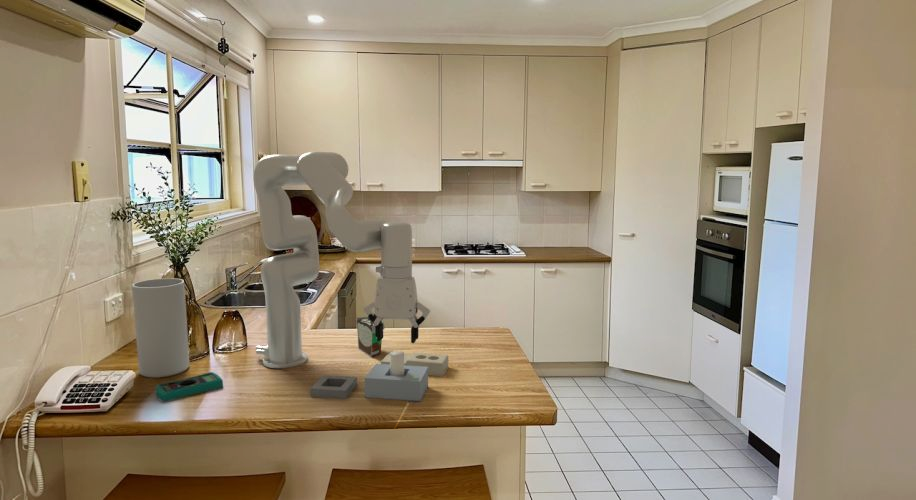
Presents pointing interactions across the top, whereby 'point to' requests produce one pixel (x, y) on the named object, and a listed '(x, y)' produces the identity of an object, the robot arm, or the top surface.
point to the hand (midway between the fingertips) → (396, 340)
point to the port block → (397, 383)
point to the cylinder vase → (161, 327)
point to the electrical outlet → (425, 362)
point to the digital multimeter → (188, 386)
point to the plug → (397, 363)
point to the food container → (368, 337)
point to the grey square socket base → (333, 387)
